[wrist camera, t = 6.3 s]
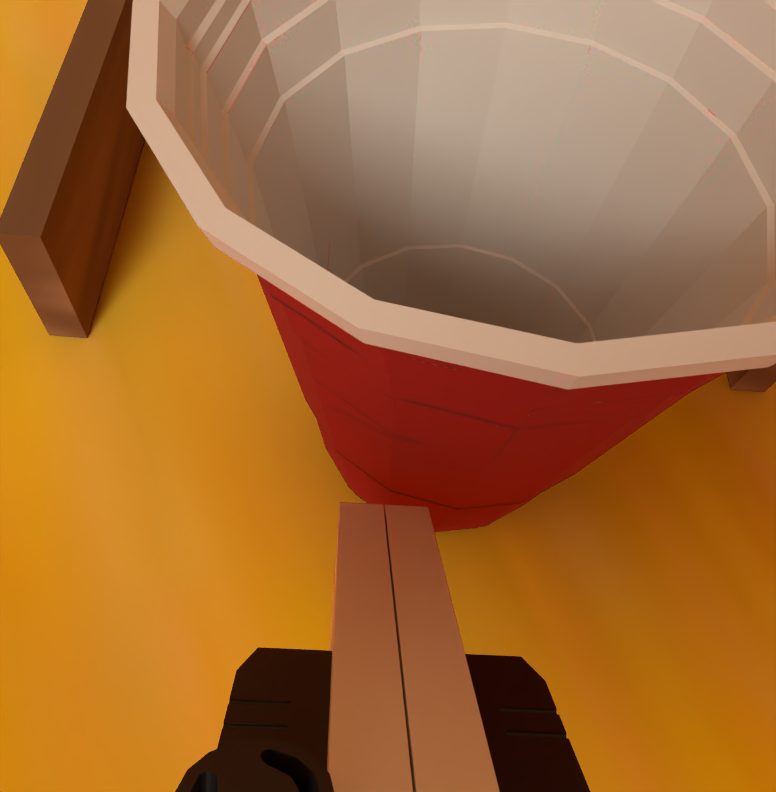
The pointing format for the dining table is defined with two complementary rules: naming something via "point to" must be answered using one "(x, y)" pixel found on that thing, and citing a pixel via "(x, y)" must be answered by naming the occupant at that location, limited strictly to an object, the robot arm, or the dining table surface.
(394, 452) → the plastic cup
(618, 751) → the dining table surface
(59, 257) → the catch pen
